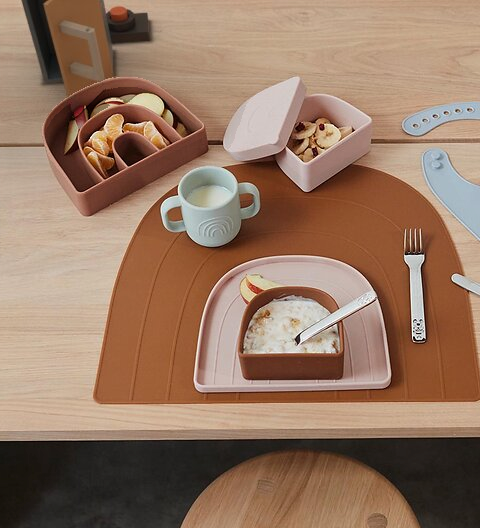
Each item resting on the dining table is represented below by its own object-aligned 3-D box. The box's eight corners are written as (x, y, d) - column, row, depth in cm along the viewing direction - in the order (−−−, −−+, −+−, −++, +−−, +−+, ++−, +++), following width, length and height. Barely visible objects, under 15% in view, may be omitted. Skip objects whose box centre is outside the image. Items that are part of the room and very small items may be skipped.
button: (111, 23, 155) (109, 15, 154) (111, 14, 157) (109, 6, 156) (127, 21, 155) (126, 14, 154) (127, 13, 158) (126, 5, 156)
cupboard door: (143, 88, 146) (125, -24, 128) (105, 128, 138) (80, 14, 120) (111, 79, 148) (89, -33, 130) (72, 117, 140) (43, 3, 122)
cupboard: (113, 78, 149) (91, -36, 130) (44, 83, 147) (12, -31, 129) (113, 51, 155) (92, -61, 136) (47, 56, 153) (16, -57, 135)
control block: (94, 45, 156) (91, 28, 153) (95, 25, 161) (91, 8, 158) (149, 41, 157) (147, 24, 154) (148, 21, 162) (146, 4, 159)
